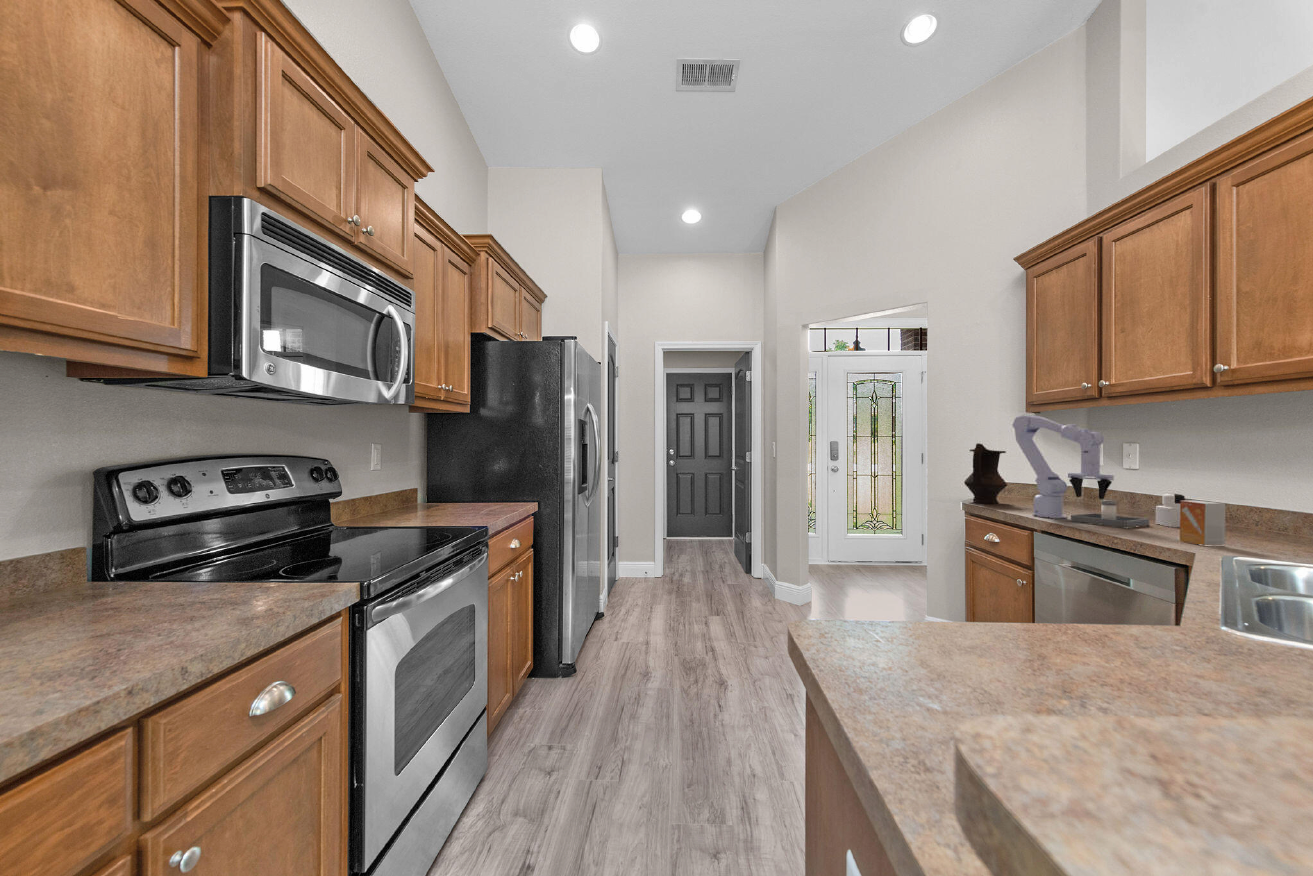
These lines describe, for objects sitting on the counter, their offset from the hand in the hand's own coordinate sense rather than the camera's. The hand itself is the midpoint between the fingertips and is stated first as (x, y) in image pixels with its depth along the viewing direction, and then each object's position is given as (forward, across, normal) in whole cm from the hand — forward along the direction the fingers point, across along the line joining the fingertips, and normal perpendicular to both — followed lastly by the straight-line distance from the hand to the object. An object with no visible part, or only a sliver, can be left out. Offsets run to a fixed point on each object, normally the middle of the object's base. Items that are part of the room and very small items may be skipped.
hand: (1089, 497), depth 211 cm
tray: (+9, +5, +3) cm, 11 cm away
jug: (+10, -58, +25) cm, 63 cm away
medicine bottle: (+10, +18, +19) cm, 28 cm away
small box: (+10, +39, -19) cm, 44 cm away
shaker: (+9, +5, +3) cm, 10 cm away
